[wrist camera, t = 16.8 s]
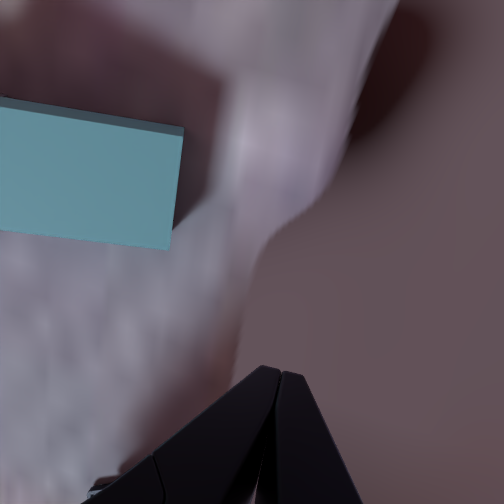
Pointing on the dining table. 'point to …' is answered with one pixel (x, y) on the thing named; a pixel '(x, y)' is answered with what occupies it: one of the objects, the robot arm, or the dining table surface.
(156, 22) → the dining table surface
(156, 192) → the domino
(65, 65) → the dining table surface
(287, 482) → the robot arm
